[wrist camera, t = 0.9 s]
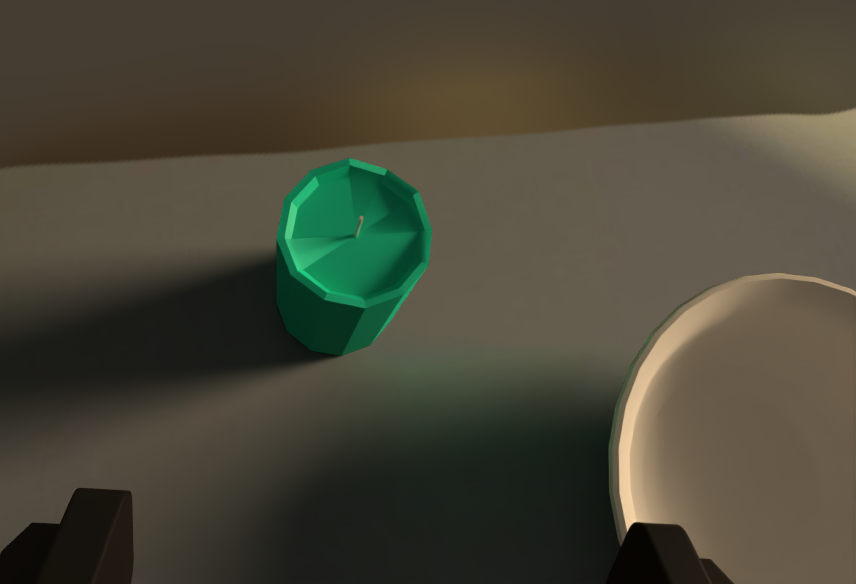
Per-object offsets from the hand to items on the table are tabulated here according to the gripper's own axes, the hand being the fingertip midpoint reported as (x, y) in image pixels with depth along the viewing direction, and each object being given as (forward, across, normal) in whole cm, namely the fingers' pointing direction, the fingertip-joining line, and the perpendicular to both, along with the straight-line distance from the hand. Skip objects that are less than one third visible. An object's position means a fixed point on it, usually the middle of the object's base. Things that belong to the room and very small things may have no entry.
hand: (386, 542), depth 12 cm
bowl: (+20, -22, +16) cm, 33 cm away
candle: (+25, 0, +10) cm, 27 cm away
